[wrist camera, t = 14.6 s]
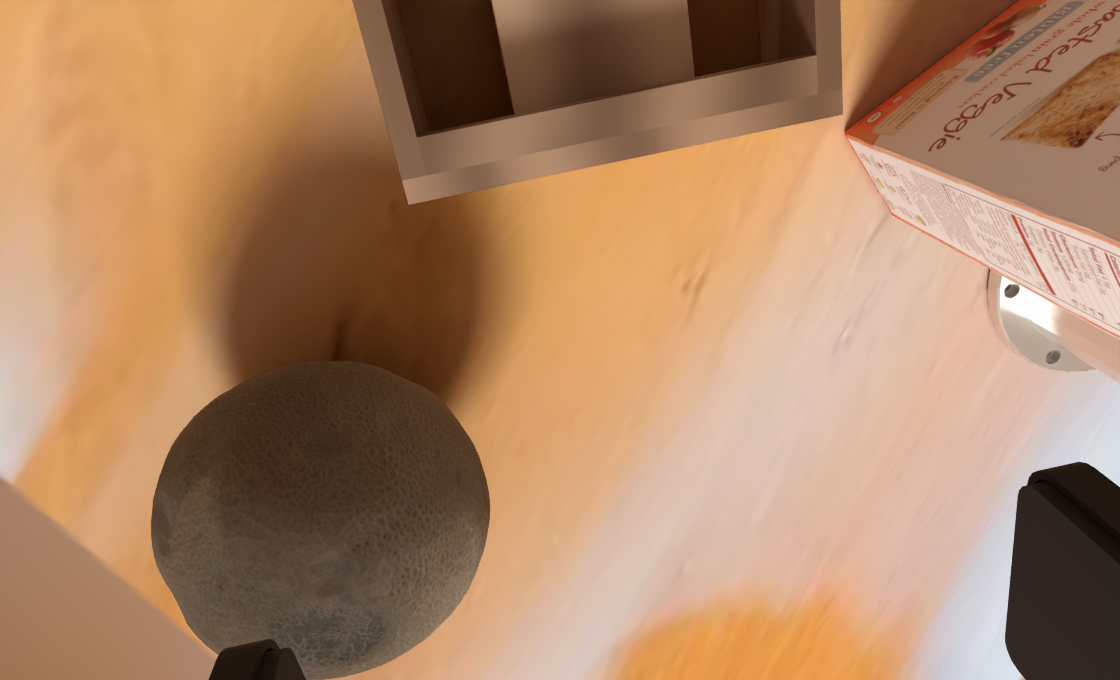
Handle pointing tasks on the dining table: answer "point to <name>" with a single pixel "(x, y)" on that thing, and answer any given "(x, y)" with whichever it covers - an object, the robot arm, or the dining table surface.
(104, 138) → the dining table surface
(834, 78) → the crate
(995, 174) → the cracker box
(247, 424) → the dark grey rounded lump
